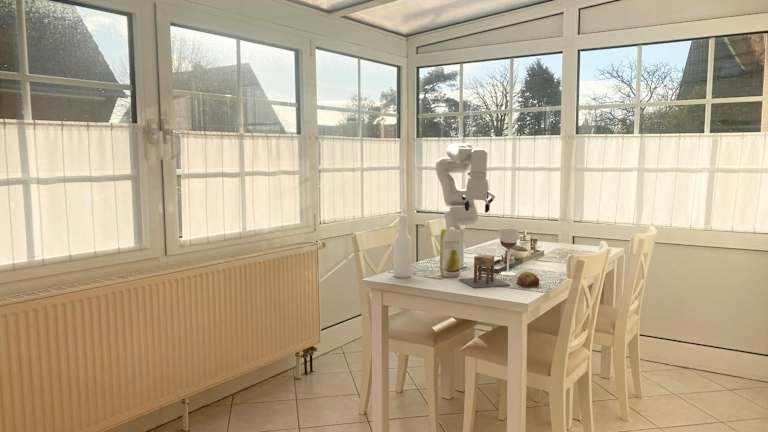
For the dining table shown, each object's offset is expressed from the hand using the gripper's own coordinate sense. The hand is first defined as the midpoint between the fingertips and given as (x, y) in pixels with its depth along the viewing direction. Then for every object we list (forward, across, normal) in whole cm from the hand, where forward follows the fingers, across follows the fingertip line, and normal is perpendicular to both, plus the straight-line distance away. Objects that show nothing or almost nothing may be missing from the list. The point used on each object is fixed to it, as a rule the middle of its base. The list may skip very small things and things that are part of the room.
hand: (476, 211), depth 268 cm
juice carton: (+33, -12, -1) cm, 35 cm away
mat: (+32, +8, -8) cm, 34 cm away
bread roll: (+32, +26, -1) cm, 42 cm away
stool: (+32, +7, -8) cm, 33 cm away
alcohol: (+33, -32, -13) cm, 48 cm away
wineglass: (+33, +11, +18) cm, 39 cm away
